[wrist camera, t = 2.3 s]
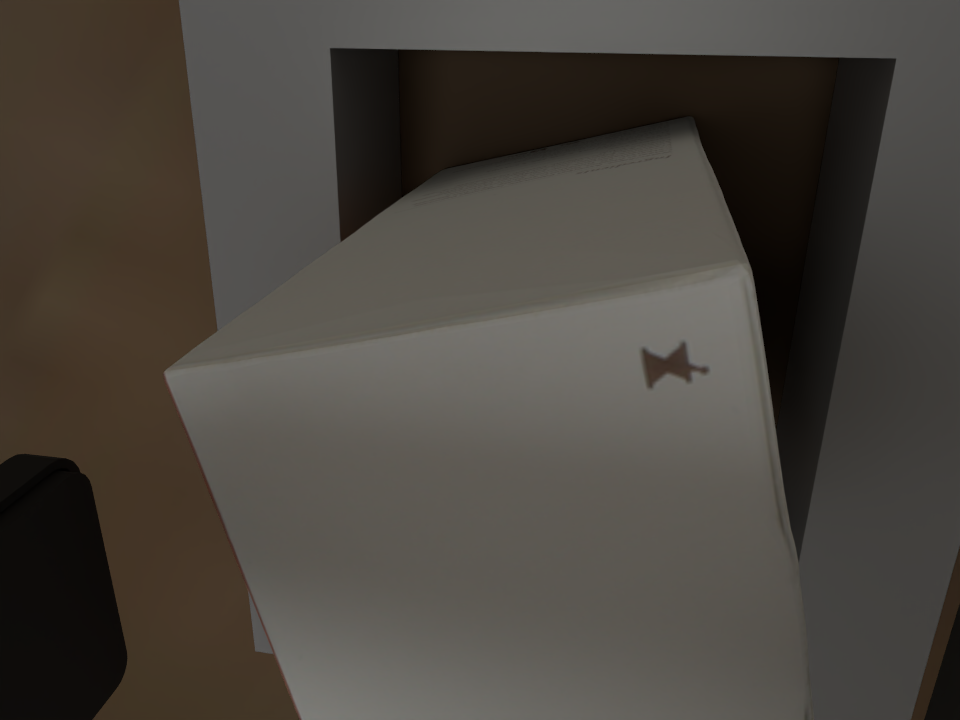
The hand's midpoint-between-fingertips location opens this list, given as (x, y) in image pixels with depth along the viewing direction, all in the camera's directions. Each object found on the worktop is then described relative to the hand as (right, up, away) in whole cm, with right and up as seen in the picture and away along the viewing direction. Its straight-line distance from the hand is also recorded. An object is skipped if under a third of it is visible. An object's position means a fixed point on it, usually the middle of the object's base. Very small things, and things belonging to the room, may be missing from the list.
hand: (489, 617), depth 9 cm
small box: (+3, +4, +12) cm, 13 cm away
